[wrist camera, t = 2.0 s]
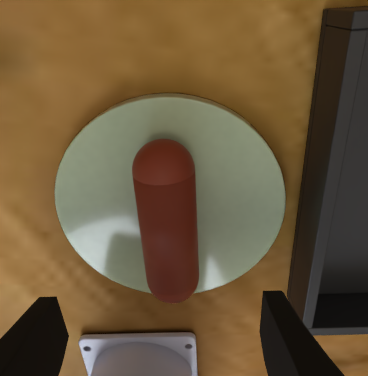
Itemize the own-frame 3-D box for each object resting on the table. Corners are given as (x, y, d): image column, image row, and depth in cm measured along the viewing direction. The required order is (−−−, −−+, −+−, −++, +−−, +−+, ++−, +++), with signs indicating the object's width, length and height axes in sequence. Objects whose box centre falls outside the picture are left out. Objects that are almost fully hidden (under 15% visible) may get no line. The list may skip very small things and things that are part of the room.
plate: (273, 283, 21) (276, 292, 21) (82, 288, 22) (79, 298, 21) (293, 86, 16) (298, 90, 15) (33, 99, 16) (26, 103, 15)
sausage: (199, 276, 20) (200, 314, 18) (151, 277, 20) (146, 316, 18) (193, 128, 16) (194, 151, 13) (133, 131, 16) (122, 155, 13)
